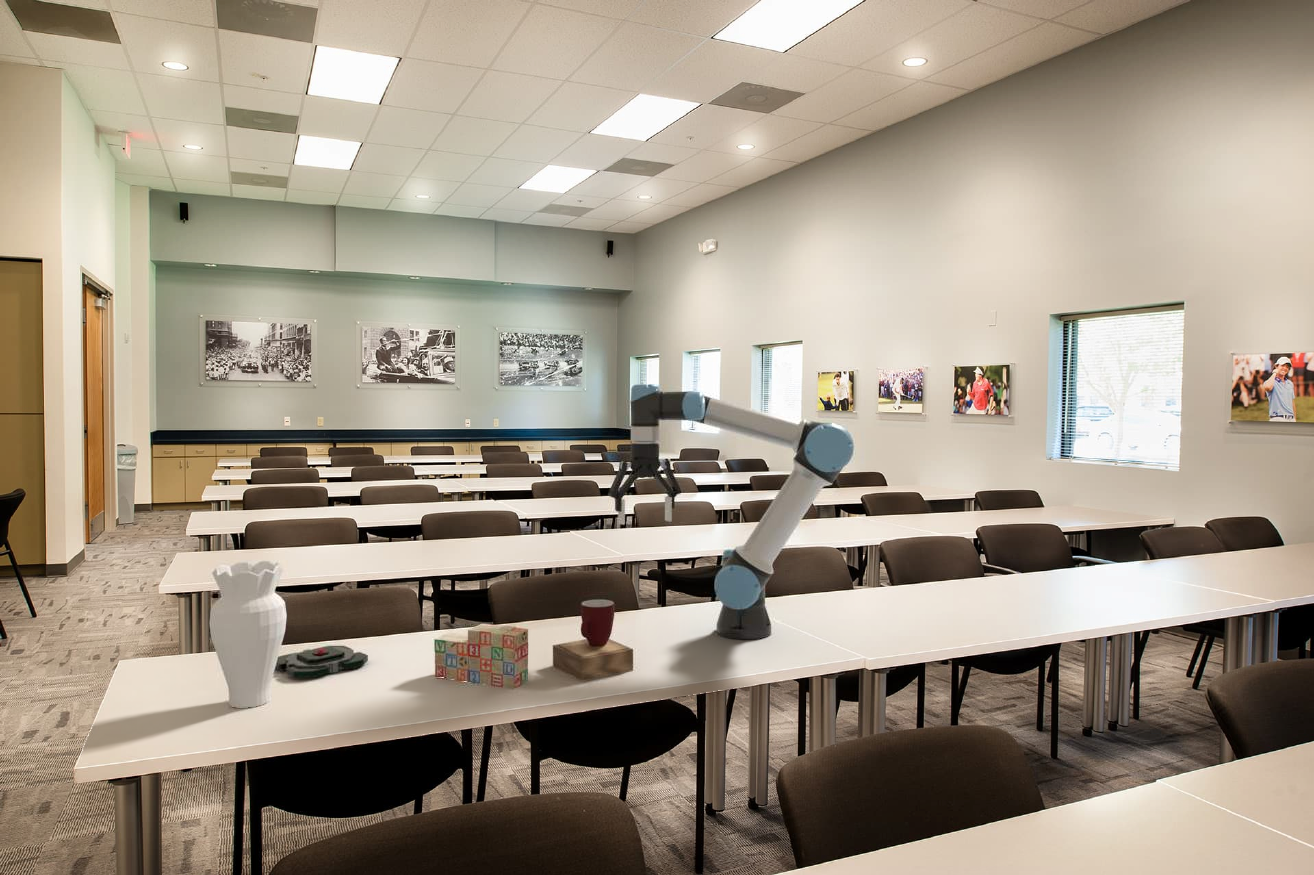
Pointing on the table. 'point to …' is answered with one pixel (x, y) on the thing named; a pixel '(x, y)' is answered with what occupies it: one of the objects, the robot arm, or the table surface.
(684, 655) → the table surface
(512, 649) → the stack of blocks
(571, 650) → the walnut block
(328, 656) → the four-lobed dark green device
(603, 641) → the mug
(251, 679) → the vase
